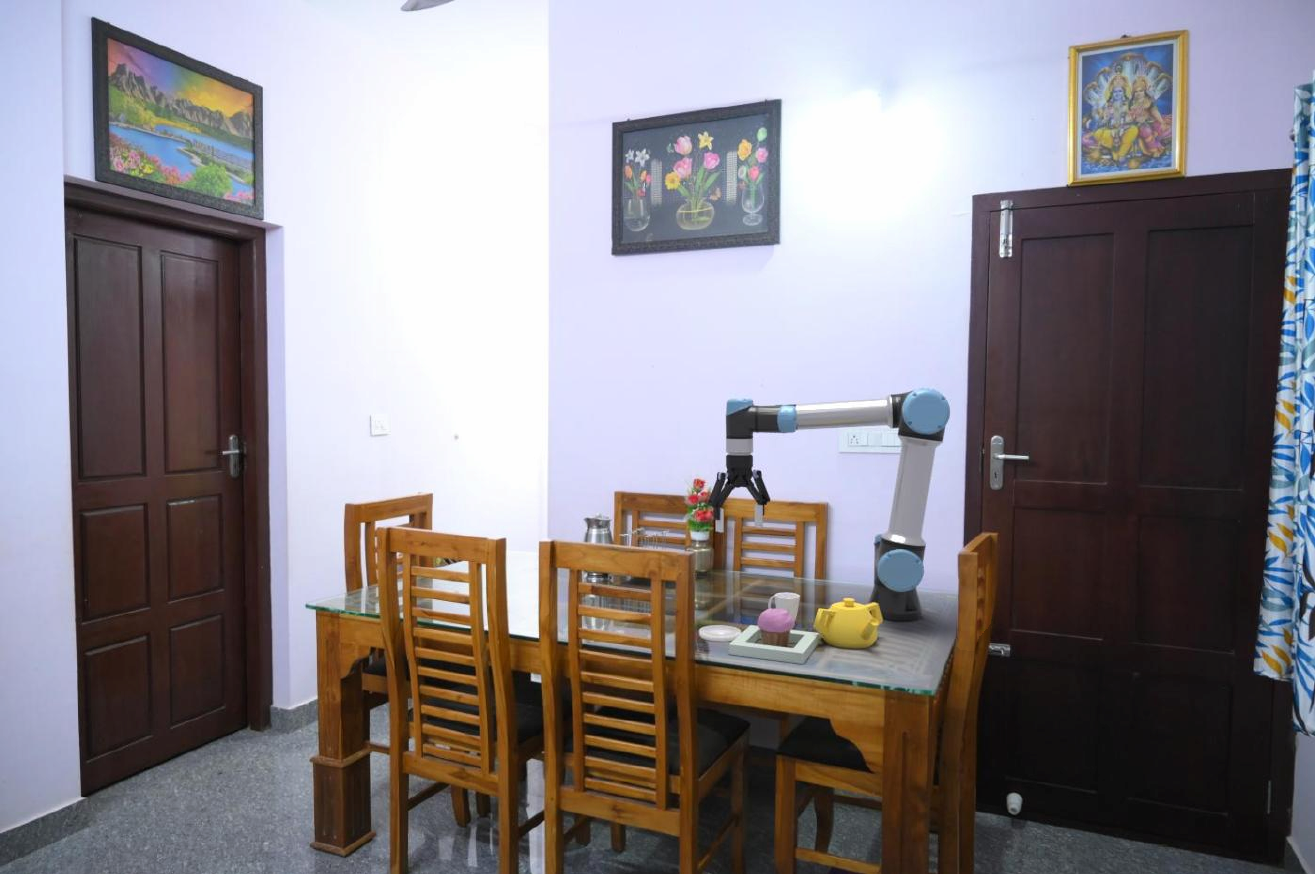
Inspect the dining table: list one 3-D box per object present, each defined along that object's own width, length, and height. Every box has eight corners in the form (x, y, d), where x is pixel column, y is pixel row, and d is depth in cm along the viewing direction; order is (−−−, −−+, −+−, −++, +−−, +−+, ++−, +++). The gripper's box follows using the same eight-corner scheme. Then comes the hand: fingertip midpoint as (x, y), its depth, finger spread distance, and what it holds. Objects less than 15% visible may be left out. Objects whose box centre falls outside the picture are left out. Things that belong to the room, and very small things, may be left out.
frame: (819, 642, 207) (819, 633, 207) (802, 663, 191) (802, 653, 191) (750, 634, 214) (750, 625, 214) (728, 654, 198) (729, 644, 198)
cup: (788, 629, 219) (788, 599, 219) (760, 621, 227) (760, 592, 226) (805, 624, 224) (805, 595, 223) (777, 617, 231) (777, 588, 231)
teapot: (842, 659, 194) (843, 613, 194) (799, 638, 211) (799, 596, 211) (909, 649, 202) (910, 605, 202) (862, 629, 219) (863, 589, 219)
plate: (746, 632, 216) (746, 627, 216) (733, 643, 206) (733, 638, 206) (707, 627, 221) (707, 622, 220) (692, 638, 210) (692, 633, 210)
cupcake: (800, 650, 201) (801, 610, 201) (773, 656, 196) (774, 615, 196) (776, 641, 209) (776, 602, 208) (749, 646, 204) (750, 606, 203)
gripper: (766, 451, 238) (766, 524, 239) (694, 454, 225) (694, 531, 226) (783, 453, 232) (782, 527, 233) (710, 456, 219) (710, 535, 220)
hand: (739, 529), depth 230 cm, fingers open, 13 cm apart
